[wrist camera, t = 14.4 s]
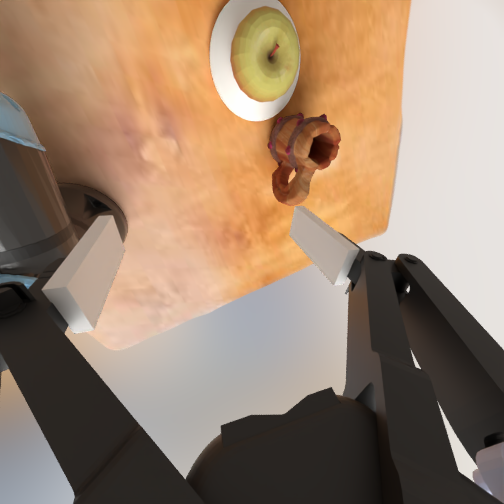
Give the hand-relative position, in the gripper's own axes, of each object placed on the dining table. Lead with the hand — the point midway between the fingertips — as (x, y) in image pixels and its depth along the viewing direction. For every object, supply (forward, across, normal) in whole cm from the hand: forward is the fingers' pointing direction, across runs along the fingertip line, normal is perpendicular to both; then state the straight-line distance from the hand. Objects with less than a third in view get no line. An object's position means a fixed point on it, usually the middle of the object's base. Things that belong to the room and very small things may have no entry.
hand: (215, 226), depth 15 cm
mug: (+29, +17, +1) cm, 34 cm away
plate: (+29, +11, +14) cm, 34 cm away
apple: (+28, +11, +14) cm, 33 cm away
